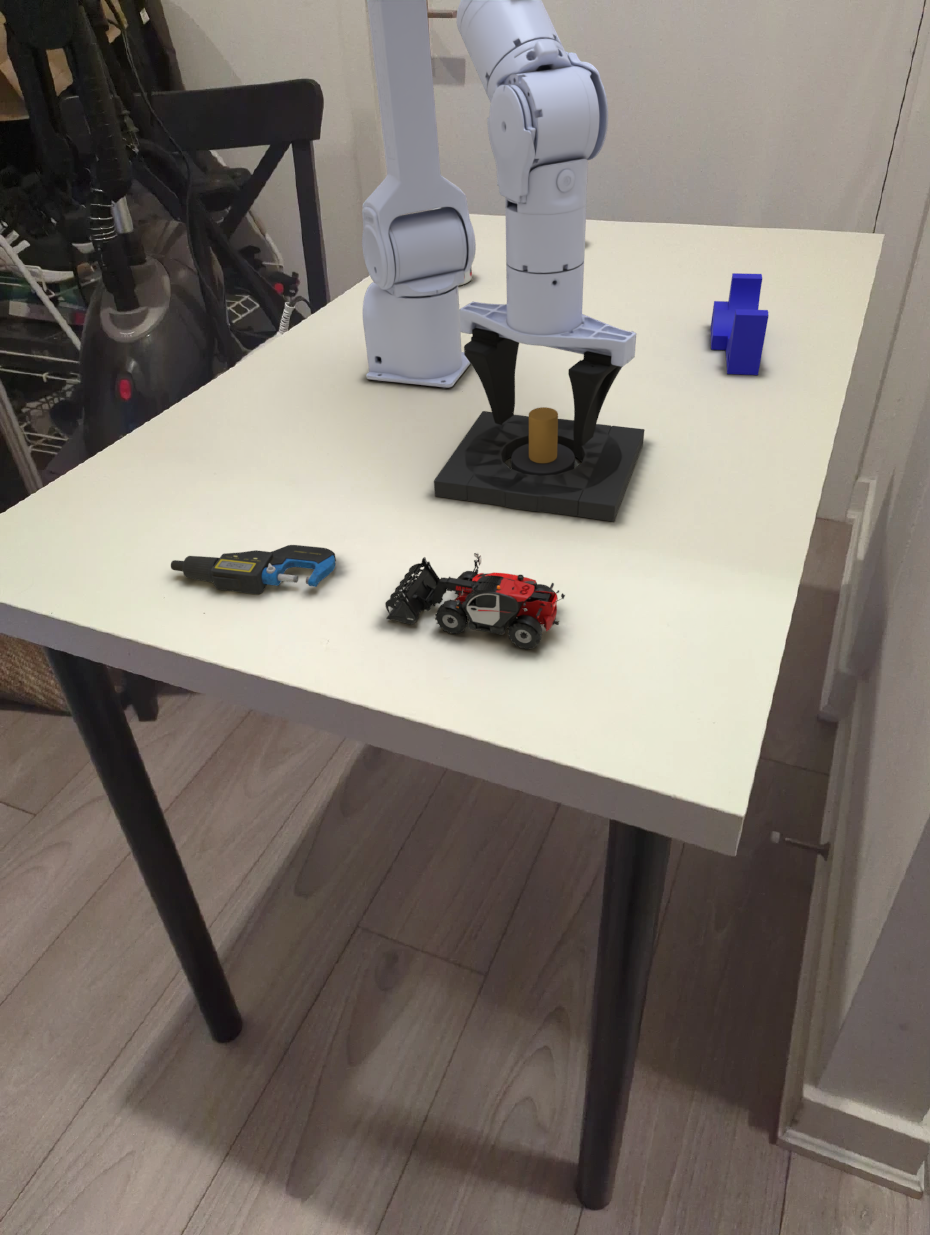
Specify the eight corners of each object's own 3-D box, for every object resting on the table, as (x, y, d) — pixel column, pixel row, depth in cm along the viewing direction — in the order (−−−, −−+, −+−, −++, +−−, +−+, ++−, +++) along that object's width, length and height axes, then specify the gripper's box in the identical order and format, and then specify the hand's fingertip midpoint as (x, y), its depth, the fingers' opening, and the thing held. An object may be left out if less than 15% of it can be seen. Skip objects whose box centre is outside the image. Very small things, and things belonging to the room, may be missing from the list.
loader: (385, 622, 60) (378, 567, 57) (412, 583, 63) (406, 529, 60) (554, 658, 56) (555, 601, 53) (573, 615, 59) (575, 559, 56)
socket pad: (434, 497, 72) (432, 481, 71) (483, 424, 82) (483, 410, 81) (613, 523, 68) (614, 506, 67) (643, 443, 77) (645, 428, 77)
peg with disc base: (499, 475, 74) (498, 419, 71) (531, 448, 78) (531, 394, 74) (554, 491, 72) (555, 434, 69) (585, 463, 75) (588, 407, 72)
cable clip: (710, 328, 97) (717, 273, 93) (752, 329, 96) (761, 273, 92) (711, 373, 88) (720, 314, 84) (758, 375, 87) (768, 315, 83)
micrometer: (339, 543, 64) (315, 583, 61) (342, 564, 66) (319, 604, 62) (192, 527, 67) (161, 565, 63) (197, 547, 68) (167, 585, 64)
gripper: (659, 259, 63) (644, 429, 72) (491, 233, 70) (495, 392, 78) (616, 289, 59) (604, 467, 67) (440, 259, 65) (450, 424, 74)
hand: (543, 429), depth 72 cm, fingers open, 7 cm apart
